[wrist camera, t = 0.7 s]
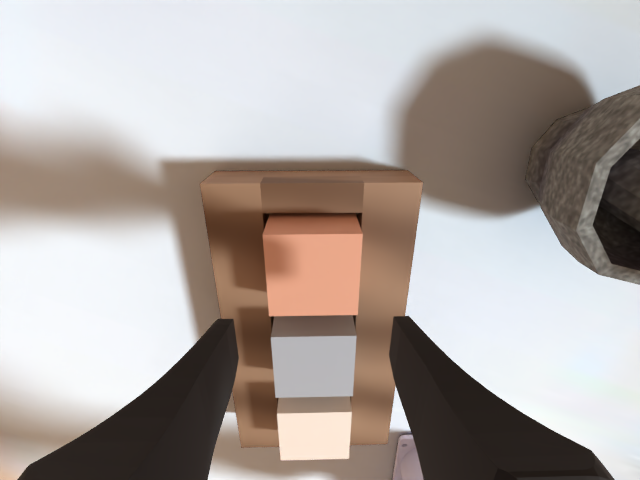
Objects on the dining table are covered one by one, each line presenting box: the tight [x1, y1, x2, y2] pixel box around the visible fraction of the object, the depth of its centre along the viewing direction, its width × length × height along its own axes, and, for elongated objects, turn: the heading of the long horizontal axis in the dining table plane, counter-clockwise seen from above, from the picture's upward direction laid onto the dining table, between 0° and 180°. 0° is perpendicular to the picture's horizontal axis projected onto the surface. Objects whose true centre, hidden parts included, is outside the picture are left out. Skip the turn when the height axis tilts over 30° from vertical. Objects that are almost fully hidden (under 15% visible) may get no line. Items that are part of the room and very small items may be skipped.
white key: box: [277, 396, 352, 461], centre depth 24 cm, size 5×5×4 cm
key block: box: [200, 170, 423, 448], centre depth 23 cm, size 22×12×3 cm, turn 0°
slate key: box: [271, 315, 356, 398], centre depth 21 cm, size 5×5×4 cm
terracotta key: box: [263, 213, 363, 316], centre depth 19 cm, size 5×5×4 cm
